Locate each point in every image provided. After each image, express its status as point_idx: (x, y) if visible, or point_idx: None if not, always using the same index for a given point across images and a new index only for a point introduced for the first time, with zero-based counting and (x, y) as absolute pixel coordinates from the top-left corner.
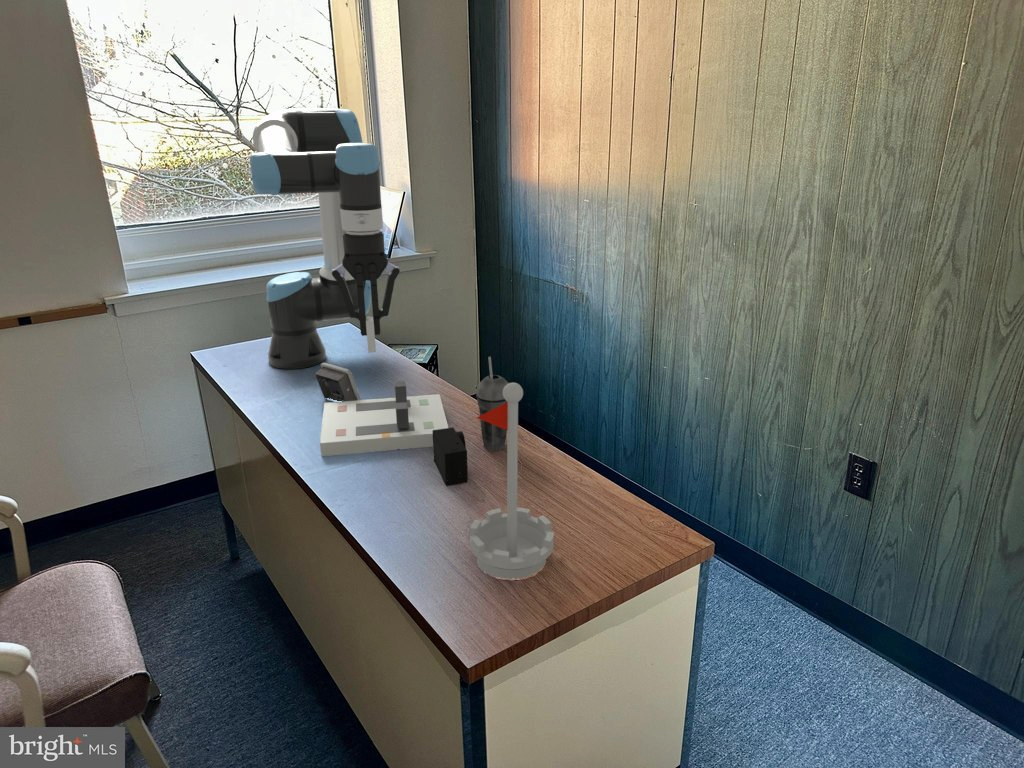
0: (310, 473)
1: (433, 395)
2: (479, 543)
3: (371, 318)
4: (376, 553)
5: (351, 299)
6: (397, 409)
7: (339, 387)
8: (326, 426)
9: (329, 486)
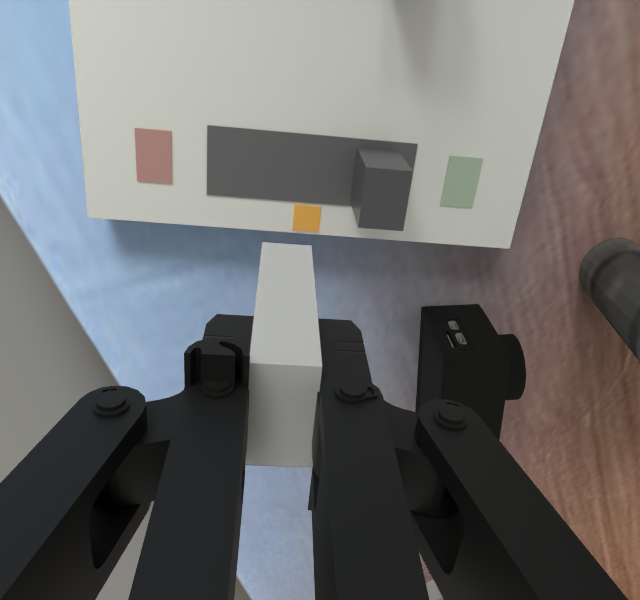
0: (83, 290)
1: None
2: None
3: (299, 409)
4: (241, 570)
5: (61, 584)
6: (363, 227)
7: None
8: (94, 85)
9: (142, 362)
